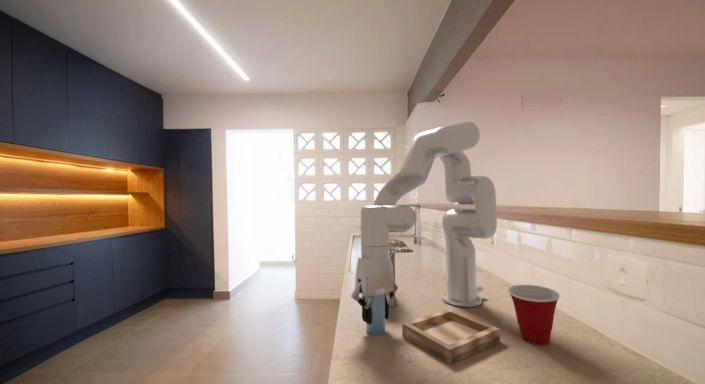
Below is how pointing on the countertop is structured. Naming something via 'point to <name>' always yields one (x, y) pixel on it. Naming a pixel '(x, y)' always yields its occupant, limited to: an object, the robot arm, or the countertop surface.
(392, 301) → the coffee box
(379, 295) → the shaker
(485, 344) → the tray
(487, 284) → the countertop surface
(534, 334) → the plastic cup
